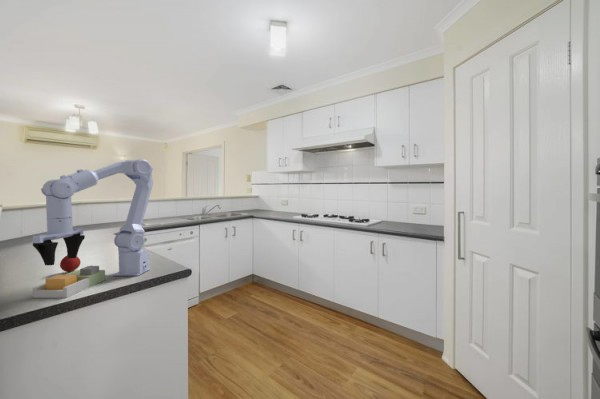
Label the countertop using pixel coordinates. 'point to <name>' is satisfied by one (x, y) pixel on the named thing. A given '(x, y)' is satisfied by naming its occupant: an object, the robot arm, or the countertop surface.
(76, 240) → the robot arm
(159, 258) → the countertop surface
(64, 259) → the onion
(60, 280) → the orange block
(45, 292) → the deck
